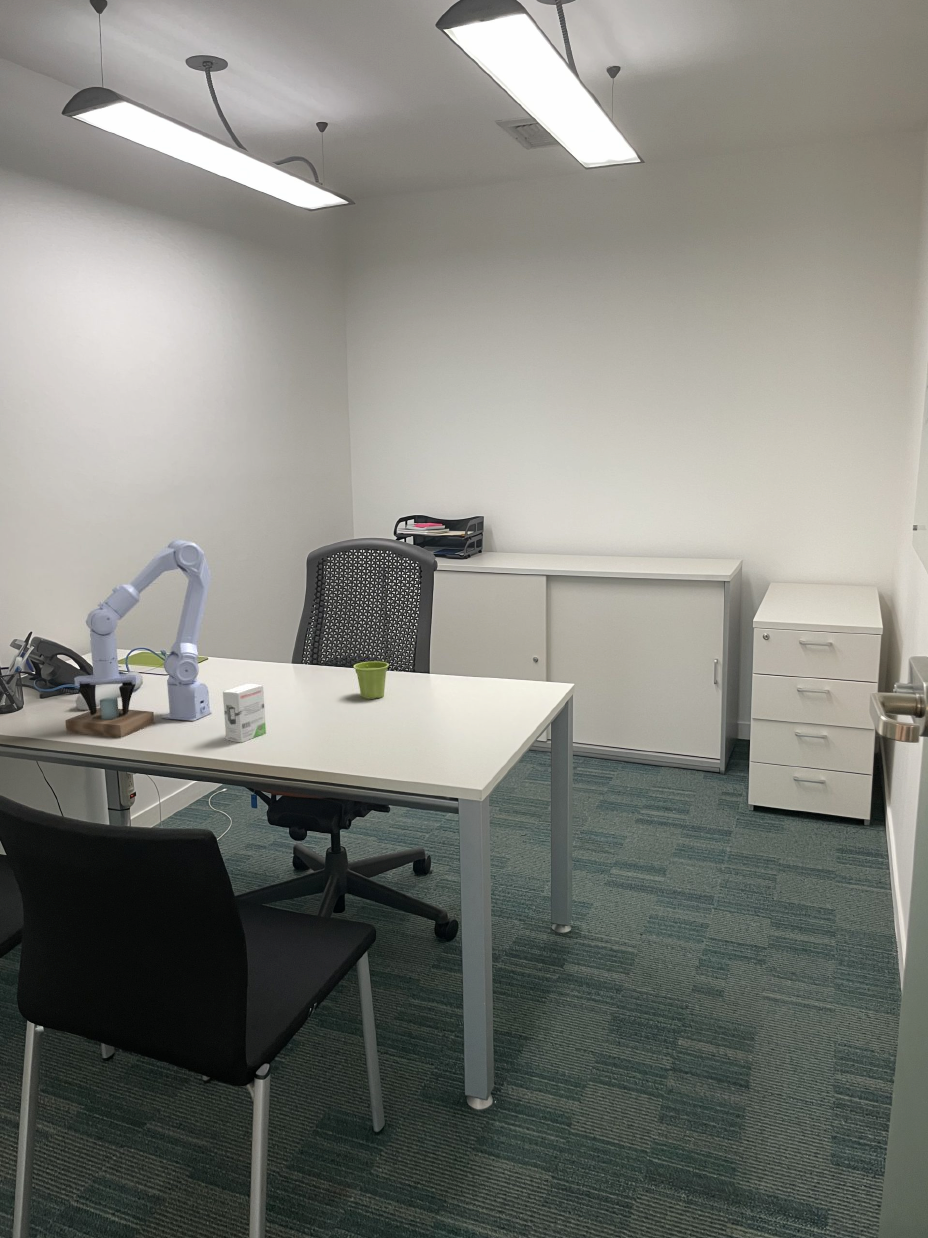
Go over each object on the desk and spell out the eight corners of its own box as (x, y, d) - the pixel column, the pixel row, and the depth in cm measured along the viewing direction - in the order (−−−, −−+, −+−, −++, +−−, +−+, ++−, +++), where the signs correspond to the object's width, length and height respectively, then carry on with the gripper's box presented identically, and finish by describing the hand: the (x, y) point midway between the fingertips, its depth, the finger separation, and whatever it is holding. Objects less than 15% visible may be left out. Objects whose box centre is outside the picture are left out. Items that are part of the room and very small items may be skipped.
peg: (122, 725, 226) (119, 697, 224) (117, 729, 222) (114, 701, 220) (105, 725, 225) (102, 698, 224) (100, 730, 221) (97, 702, 220)
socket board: (154, 723, 226) (153, 711, 226) (121, 737, 215) (120, 725, 215) (101, 718, 232) (100, 707, 231) (66, 732, 220) (65, 720, 220)
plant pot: (349, 700, 244) (348, 668, 243) (361, 691, 253) (360, 660, 252) (383, 702, 242) (382, 669, 241) (394, 692, 251) (393, 661, 250)
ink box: (251, 730, 219) (248, 682, 217) (267, 733, 217) (264, 684, 214) (225, 740, 212) (221, 690, 210) (240, 743, 209) (237, 693, 207)
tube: (91, 698, 237) (145, 674, 261) (73, 691, 238) (128, 668, 262) (87, 716, 238) (141, 691, 262) (69, 709, 239) (124, 685, 263)
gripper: (140, 654, 224) (145, 708, 227) (80, 655, 224) (85, 709, 226) (131, 660, 218) (136, 716, 220) (69, 662, 217) (74, 717, 219)
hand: (109, 713), depth 223 cm, fingers open, 7 cm apart
